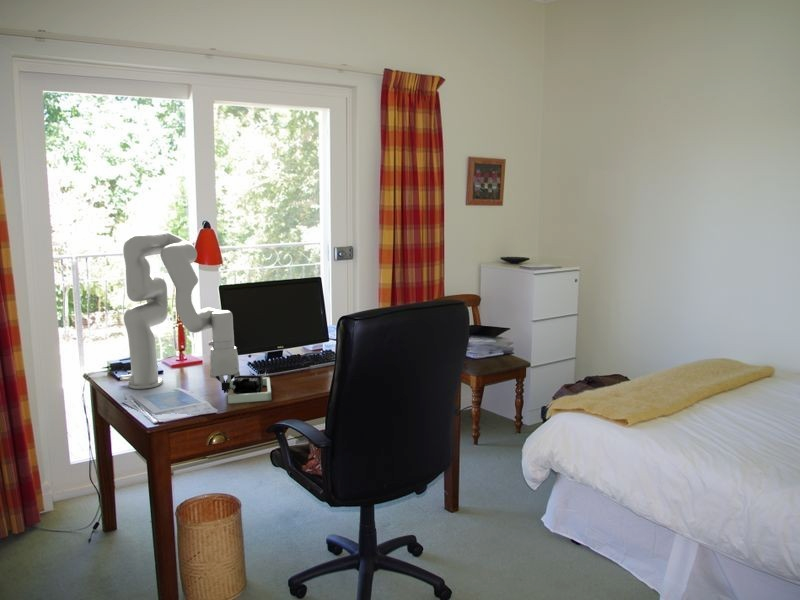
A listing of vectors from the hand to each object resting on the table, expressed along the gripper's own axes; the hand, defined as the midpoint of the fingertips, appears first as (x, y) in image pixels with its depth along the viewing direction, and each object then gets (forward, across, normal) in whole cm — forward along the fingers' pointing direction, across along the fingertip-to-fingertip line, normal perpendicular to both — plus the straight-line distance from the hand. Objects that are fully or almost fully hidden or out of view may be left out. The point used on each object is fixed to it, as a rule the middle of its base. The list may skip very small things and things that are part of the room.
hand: (226, 391), depth 242 cm
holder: (+1, +8, 0) cm, 8 cm away
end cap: (+2, +8, 0) cm, 8 cm away
